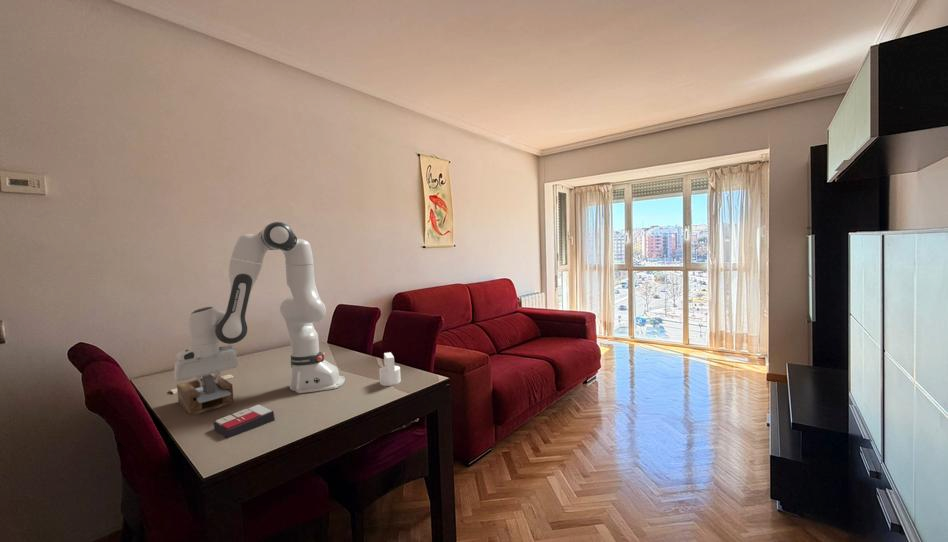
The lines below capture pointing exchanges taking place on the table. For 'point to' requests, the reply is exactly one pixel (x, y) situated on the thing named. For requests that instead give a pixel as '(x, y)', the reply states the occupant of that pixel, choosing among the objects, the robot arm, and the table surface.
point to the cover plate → (211, 396)
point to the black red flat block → (243, 421)
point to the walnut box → (189, 393)
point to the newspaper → (221, 376)
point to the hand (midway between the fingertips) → (208, 385)
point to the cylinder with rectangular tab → (389, 371)
